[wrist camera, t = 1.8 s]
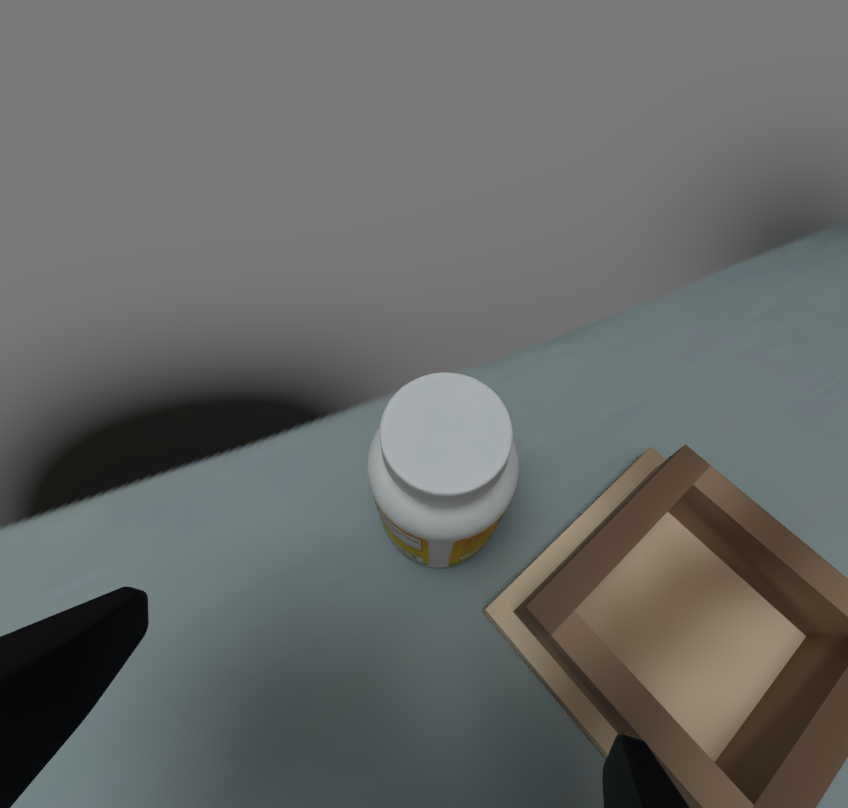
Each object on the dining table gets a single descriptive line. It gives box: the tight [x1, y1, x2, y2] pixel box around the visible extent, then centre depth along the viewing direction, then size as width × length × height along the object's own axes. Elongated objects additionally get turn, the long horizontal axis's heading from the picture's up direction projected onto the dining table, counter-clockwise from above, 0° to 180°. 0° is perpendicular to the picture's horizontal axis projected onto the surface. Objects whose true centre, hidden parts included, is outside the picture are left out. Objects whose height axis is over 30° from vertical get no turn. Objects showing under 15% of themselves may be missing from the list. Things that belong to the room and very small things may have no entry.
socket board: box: [483, 445, 848, 808], centre depth 18 cm, size 11×11×4 cm
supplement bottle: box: [367, 373, 519, 568], centre depth 18 cm, size 5×5×10 cm
